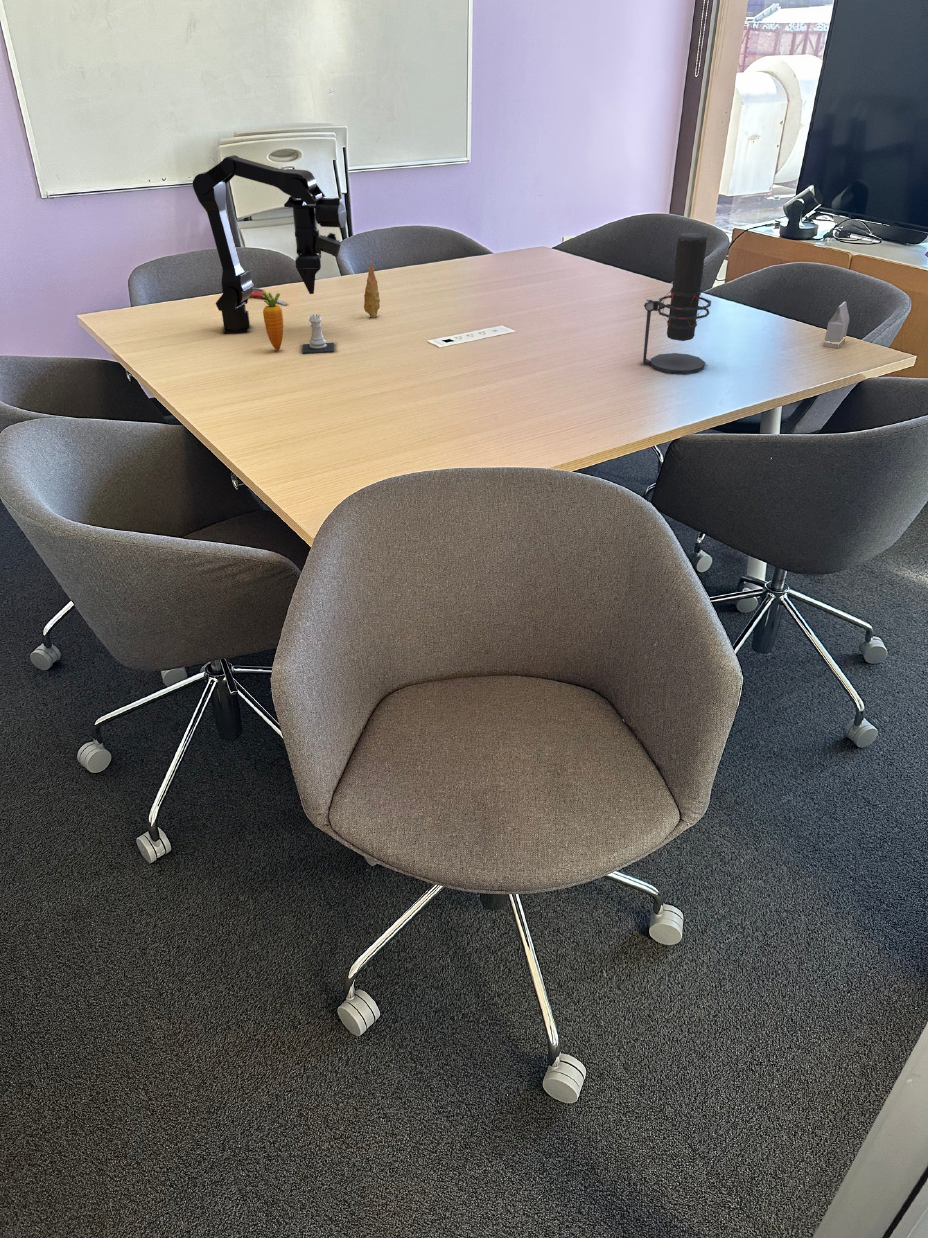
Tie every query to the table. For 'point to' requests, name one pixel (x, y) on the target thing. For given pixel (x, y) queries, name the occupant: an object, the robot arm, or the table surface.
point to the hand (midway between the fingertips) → (312, 289)
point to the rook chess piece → (316, 333)
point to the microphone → (681, 305)
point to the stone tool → (371, 294)
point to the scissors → (259, 294)
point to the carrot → (273, 320)
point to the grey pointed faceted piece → (837, 327)
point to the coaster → (327, 349)
